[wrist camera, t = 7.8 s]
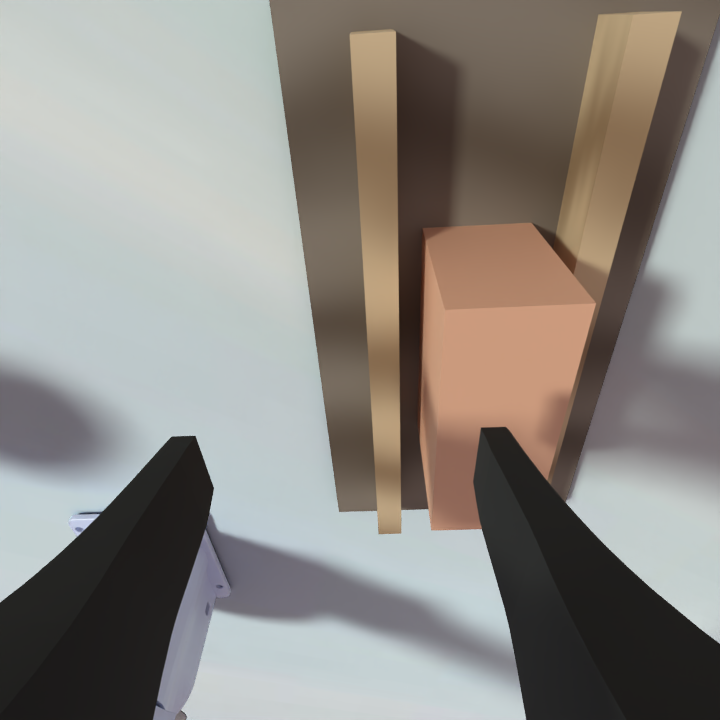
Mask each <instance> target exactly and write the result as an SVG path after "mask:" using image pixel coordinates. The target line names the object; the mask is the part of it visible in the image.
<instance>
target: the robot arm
mask: <svg viewBox="0 0 720 720" xmlns="http://www.w3.org/2000/svg"><path fill="white" fill-rule="evenodd" d="M473 484H474V490H475V497H476V503H477V509H478V514H479V520H480V524H481V527H482V531H483V535H484V538H485V542H486V545H487V549H488V552H489V556H490V559H491V563H492V566H493V569H494V573H495V576H496V580H497V583H498V587H499V590H500V594H501V597H502V601H503V604H504V608H505V612H506V616H507V620H508V624H509V628H510V633H511V639H512V644H513V649H514V654H515V659H516V665H517V670H518V675H519V681H520V687H521V692H522V698H523V703H524V709H525V714H526V720H720V644H719V643H718V642H717V641H715V640H714V639H713V638H711V637H710V636H709V635H707V634H706V633H705V632H703V631H702V630H701V629H700V628H698V627H697V626H696V625H695V624H694V623H692V622H691V621H690V620H689V619H687V618H686V617H685V616H684V615H683V614H681V613H680V612H679V611H678V610H677V609H675V608H674V607H673V606H672V605H671V604H669V603H668V602H667V601H666V600H664V599H663V598H662V597H661V596H660V595H658V594H657V593H656V592H655V591H654V590H652V589H651V588H650V587H649V586H648V585H647V584H646V583H645V582H644V581H642V580H641V579H640V578H639V577H638V576H637V575H636V574H635V573H634V572H633V571H631V570H630V569H629V568H628V567H627V566H626V565H625V564H624V563H623V562H622V561H621V560H620V559H619V558H618V557H617V556H616V555H615V554H613V553H612V552H611V551H610V550H609V549H608V548H607V547H606V546H605V545H604V544H603V543H602V542H601V541H600V540H599V539H598V538H597V536H596V535H595V534H594V533H593V532H592V531H591V530H590V529H589V528H588V527H587V526H586V525H585V524H584V523H583V522H582V520H581V519H580V518H579V517H578V516H577V515H576V514H575V513H574V512H573V511H572V509H571V508H570V507H569V506H568V505H567V504H566V503H565V501H564V500H563V499H562V498H561V497H560V495H559V494H558V493H557V492H556V491H555V489H554V488H553V487H552V486H551V485H550V483H549V482H548V481H547V480H546V479H545V477H544V476H543V475H542V474H541V472H540V471H539V470H538V468H537V467H536V466H535V465H534V463H533V462H532V461H531V459H530V458H529V457H528V455H527V454H526V453H525V451H524V450H523V449H522V447H521V446H520V444H519V443H518V442H517V440H516V439H515V437H514V436H513V435H512V433H511V432H510V430H509V429H508V428H506V427H481V430H480V437H479V444H478V451H477V458H476V465H475V472H474V479H473ZM213 490H214V487H213V485H212V482H211V479H210V476H209V473H208V470H207V468H206V465H205V462H204V459H203V456H202V453H201V451H200V448H199V445H198V442H197V439H196V436H177V437H171V438H170V439H169V440H168V441H167V442H166V443H165V444H164V446H163V447H162V448H161V449H160V450H159V451H158V452H157V453H156V454H155V455H154V457H153V458H152V459H151V460H150V461H149V462H148V463H147V464H146V465H145V467H144V468H143V469H142V470H141V471H140V472H139V473H138V474H137V475H136V477H135V478H134V479H133V480H132V481H131V482H130V483H129V484H128V485H127V486H126V487H125V489H124V490H123V491H122V492H121V493H120V494H119V495H118V496H117V497H116V498H115V499H114V500H113V501H112V502H111V504H110V505H109V506H108V507H107V508H106V509H105V510H104V511H103V512H102V513H101V514H83V515H73V516H71V517H70V519H69V521H68V524H69V526H70V527H71V529H72V530H73V531H74V533H75V534H76V536H77V538H76V539H75V540H74V541H72V542H71V543H70V544H69V545H68V546H67V547H66V548H65V549H64V550H63V551H62V552H61V553H59V554H58V555H57V556H56V557H55V558H54V559H53V560H52V561H50V562H49V563H48V564H47V565H46V566H45V567H43V568H42V569H41V570H40V571H39V572H38V573H37V574H35V575H34V576H33V577H32V578H31V579H29V580H28V581H27V582H26V583H25V584H23V585H22V586H21V587H20V588H18V589H17V590H16V591H14V592H13V593H12V594H11V595H9V596H8V597H7V598H5V599H4V600H3V601H2V602H0V720H175V716H176V715H177V714H178V713H179V711H180V710H181V709H182V707H183V706H184V704H185V703H186V701H187V699H188V698H189V696H190V694H191V691H192V689H193V686H194V683H195V679H196V675H197V671H198V667H199V663H200V659H201V655H202V651H203V647H204V643H205V639H206V635H207V631H208V627H209V623H210V620H211V616H212V612H213V608H214V604H215V600H216V598H223V597H228V596H229V595H230V592H231V589H230V586H229V584H228V581H227V579H226V577H225V574H224V572H223V570H222V567H221V565H220V562H219V560H218V558H217V555H216V553H215V551H214V548H213V546H212V544H211V541H210V539H209V536H208V534H207V532H206V526H207V521H208V516H209V512H210V506H211V501H212V496H213Z"/></svg>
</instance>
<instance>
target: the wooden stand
mask: <svg viewBox="0 0 720 720" xmlns="http://www.w3.org/2000/svg"><path fill="white" fill-rule="evenodd" d="M269 1H270V8H271V16H272V23H273V30H274V38H275V45H276V52H277V60H278V67H279V74H280V82H281V89H282V96H283V104H284V111H285V118H286V126H287V133H288V140H289V148H290V155H291V162H292V170H293V177H294V184H295V192H296V199H297V206H298V214H299V221H300V228H301V236H302V243H303V250H304V258H305V265H306V272H307V280H308V287H309V295H310V302H311V309H312V317H313V324H314V331H315V339H316V346H317V353H318V361H319V368H320V375H321V383H322V390H323V397H324V405H325V412H326V419H327V427H328V434H329V441H330V449H331V456H332V463H333V471H334V478H335V485H336V493H337V500H338V507H339V512H349V511H377V513H378V530H379V534H397V533H401V510H415V509H429V508H428V500H427V493H426V485H425V478H424V470H423V462H422V455H421V447H420V439H419V432H418V424H417V421H418V382H419V343H420V304H421V265H422V228H434V227H455V226H475V225H495V224H516V223H532V224H533V225H534V226H535V228H536V229H537V230H538V231H539V233H540V234H541V235H542V236H543V238H544V239H545V240H546V241H547V243H548V244H549V245H550V246H551V248H552V249H553V250H554V251H555V253H556V254H557V255H558V256H559V258H560V259H561V260H562V261H563V263H564V264H565V265H566V266H567V268H568V269H569V270H570V271H571V273H572V274H573V275H574V276H575V278H576V279H577V280H578V281H579V283H580V284H581V285H582V286H583V288H584V289H585V290H586V291H587V293H588V294H589V295H590V296H591V298H592V299H593V300H594V301H595V303H596V306H595V309H594V313H593V317H592V320H591V324H590V327H589V331H588V335H587V338H586V342H585V346H584V349H583V353H582V356H581V360H580V364H579V367H578V371H577V375H576V378H575V382H574V385H573V389H572V393H571V396H570V400H569V404H568V407H567V411H566V414H565V418H564V422H563V425H562V429H561V433H560V436H559V440H558V443H557V447H556V451H555V454H554V458H553V462H552V465H551V469H550V472H549V476H548V480H547V481H548V482H549V483H550V485H551V486H552V487H553V488H554V489H555V491H556V492H557V493H558V494H559V495H560V497H561V498H562V499H563V500H564V501H565V502H566V498H567V495H568V492H569V489H570V486H571V483H572V480H573V476H574V473H575V470H576V467H577V464H578V461H579V457H580V454H581V451H582V448H583V445H584V442H585V438H586V435H587V432H588V429H589V426H590V423H591V419H592V416H593V413H594V410H595V407H596V404H597V401H598V397H599V394H600V391H601V388H602V385H603V382H604V378H605V375H606V372H607V369H608V366H609V363H610V359H611V356H612V353H613V350H614V347H615V344H616V340H617V337H618V334H619V331H620V328H621V325H622V321H623V318H624V315H625V312H626V309H627V306H628V303H629V299H630V296H631V293H632V290H633V287H634V284H635V280H636V277H637V274H638V271H639V268H640V265H641V261H642V258H643V255H644V252H645V249H646V246H647V242H648V239H649V236H650V233H651V230H652V227H653V223H654V220H655V217H656V214H657V211H658V208H659V205H660V201H661V198H662V195H663V192H664V189H665V186H666V182H667V179H668V176H669V173H670V170H671V167H672V163H673V160H674V157H675V154H676V151H677V148H678V144H679V141H680V138H681V135H682V132H683V129H684V126H685V122H686V119H687V116H688V113H689V110H690V107H691V103H692V100H693V97H694V94H695V91H696V88H697V84H698V81H699V78H700V75H701V72H702V69H703V65H704V62H705V59H706V56H707V53H708V50H709V46H710V43H711V40H712V37H713V34H714V31H715V28H716V24H717V21H718V18H719V15H720V0H269Z"/></svg>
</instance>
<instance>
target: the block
mask: <svg viewBox="0 0 720 720" xmlns="http://www.w3.org/2000/svg"><path fill="white" fill-rule="evenodd" d="M595 306H596V303H595V301H594V300H593V299H592V298H591V296H590V295H589V294H588V293H587V291H586V290H585V289H584V288H583V286H582V285H581V284H580V283H579V281H578V280H577V279H576V278H575V276H574V275H573V274H572V273H571V271H570V270H569V269H568V268H567V266H566V265H565V264H564V263H563V261H562V260H561V259H560V258H559V256H558V255H557V254H556V253H555V251H554V250H553V249H552V248H551V246H550V245H549V244H548V243H547V241H546V240H545V239H544V238H543V236H542V235H541V234H540V233H539V231H538V230H537V229H536V228H535V226H534V225H533V224H532V223H516V224H495V225H475V226H455V227H434V228H422V265H421V304H420V343H419V382H418V421H417V424H418V432H419V439H420V447H421V455H422V462H423V470H424V478H425V485H426V493H427V500H428V508H429V516H430V523H431V530H464V529H482V527H481V524H480V520H479V514H478V509H477V503H476V497H475V490H474V484H473V479H474V472H475V465H476V458H477V451H478V444H479V437H480V430H481V427H506V428H508V429H509V430H510V432H511V433H512V435H513V436H514V437H515V439H516V440H517V442H518V443H519V444H520V446H521V447H522V449H523V450H524V451H525V453H526V454H527V455H528V457H529V458H530V459H531V461H532V462H533V463H534V465H535V466H536V467H537V468H538V470H539V471H540V472H541V474H542V475H543V476H544V477H545V479H546V480H548V476H549V472H550V469H551V465H552V462H553V458H554V454H555V451H556V447H557V443H558V440H559V436H560V433H561V429H562V425H563V422H564V418H565V414H566V411H567V407H568V404H569V400H570V396H571V393H572V389H573V385H574V382H575V378H576V375H577V371H578V367H579V364H580V360H581V356H582V353H583V349H584V346H585V342H586V338H587V335H588V331H589V327H590V324H591V320H592V317H593V313H594V309H595Z"/></svg>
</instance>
